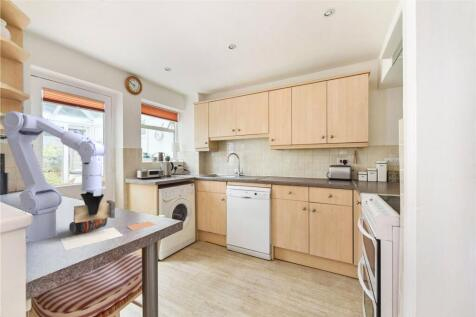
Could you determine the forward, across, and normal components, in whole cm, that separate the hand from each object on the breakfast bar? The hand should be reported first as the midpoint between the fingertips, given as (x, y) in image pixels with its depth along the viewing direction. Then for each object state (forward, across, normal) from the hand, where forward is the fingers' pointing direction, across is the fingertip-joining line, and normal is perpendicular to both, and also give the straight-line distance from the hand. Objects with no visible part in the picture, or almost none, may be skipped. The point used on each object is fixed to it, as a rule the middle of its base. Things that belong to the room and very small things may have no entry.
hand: (92, 213), depth 72 cm
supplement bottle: (+5, +11, -6) cm, 14 cm away
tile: (+8, -1, -12) cm, 15 cm away
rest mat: (+8, -1, 0) cm, 8 cm away
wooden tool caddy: (+2, 0, 0) cm, 2 cm away
